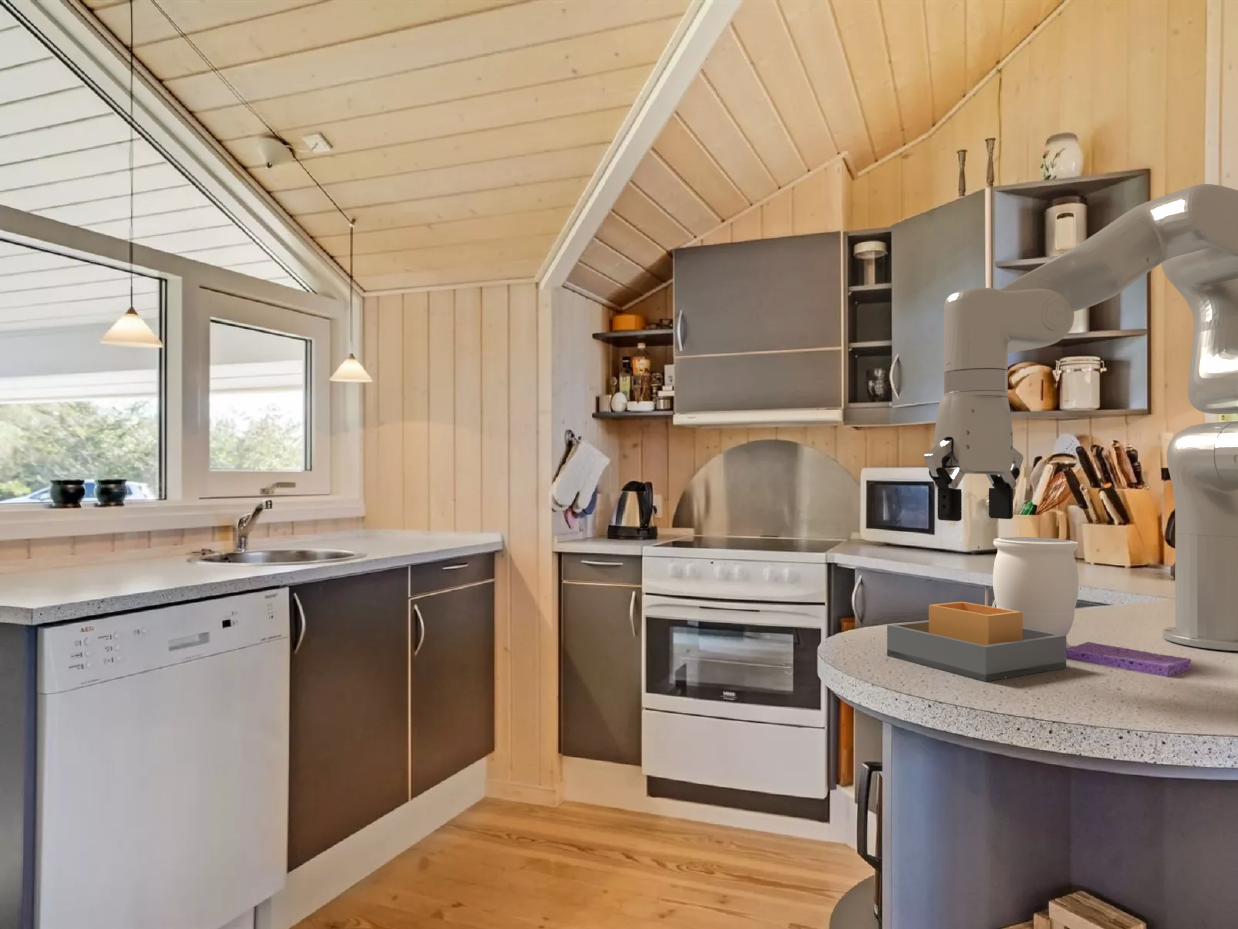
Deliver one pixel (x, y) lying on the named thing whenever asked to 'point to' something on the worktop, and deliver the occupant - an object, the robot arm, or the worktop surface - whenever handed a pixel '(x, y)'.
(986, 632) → the small crate
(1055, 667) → the grey square tray
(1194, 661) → the worktop surface
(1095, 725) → the worktop surface
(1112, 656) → the sponges
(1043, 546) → the jar
